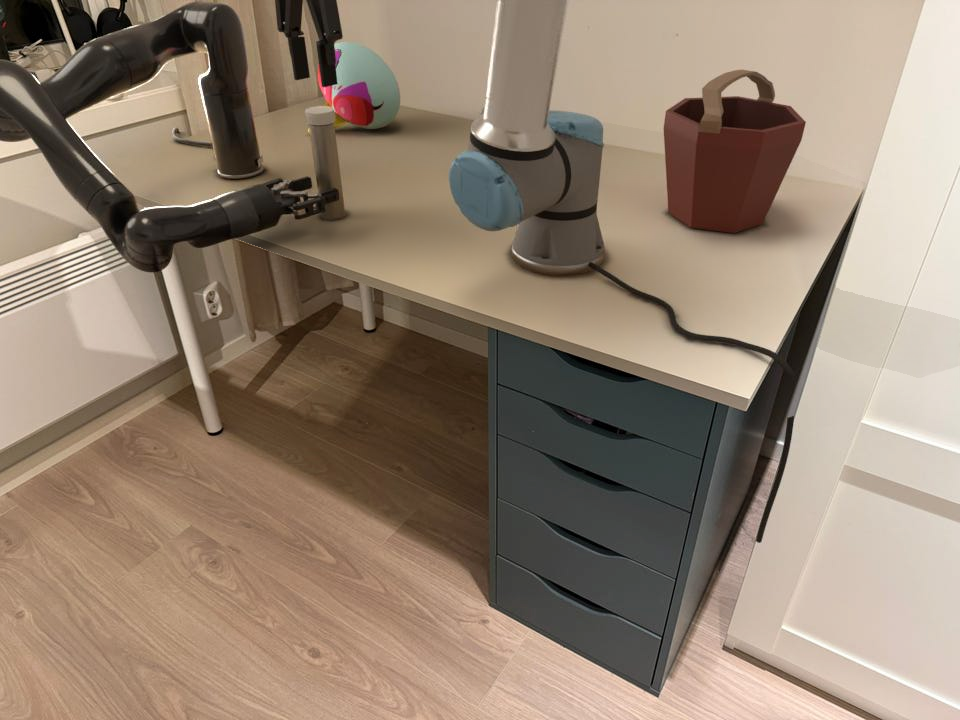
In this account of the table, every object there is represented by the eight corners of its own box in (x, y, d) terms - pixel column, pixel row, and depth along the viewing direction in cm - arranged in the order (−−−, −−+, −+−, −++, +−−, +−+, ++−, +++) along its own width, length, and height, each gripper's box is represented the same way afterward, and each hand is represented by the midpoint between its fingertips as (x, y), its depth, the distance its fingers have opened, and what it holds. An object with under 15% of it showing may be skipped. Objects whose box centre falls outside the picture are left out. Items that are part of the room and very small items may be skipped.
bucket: (710, 250, 119) (740, 96, 105) (622, 208, 134) (638, 69, 120) (804, 218, 129) (843, 75, 115) (713, 183, 145) (736, 53, 131)
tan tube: (332, 209, 135) (318, 107, 125) (350, 213, 134) (338, 110, 123) (316, 216, 132) (301, 113, 122) (334, 221, 130) (321, 117, 120)
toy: (277, 110, 181) (275, 51, 163) (352, 72, 191) (358, 13, 173) (336, 175, 178) (341, 122, 160) (410, 134, 188) (421, 79, 170)
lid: (319, 116, 126) (318, 104, 125) (341, 119, 124) (340, 108, 123) (300, 123, 122) (298, 111, 121) (322, 127, 120) (320, 115, 119)
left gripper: (227, 221, 126) (305, 197, 135) (270, 245, 117) (349, 217, 127) (219, 180, 121) (299, 158, 131) (262, 202, 113) (345, 177, 123)
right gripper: (356, -77, 103) (371, 86, 116) (277, -80, 114) (299, 69, 127) (314, -75, 99) (334, 95, 112) (236, -78, 110) (263, 77, 123)
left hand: (324, 187), depth 129 cm, fingers open, 8 cm apart
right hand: (315, 81), depth 119 cm, fingers open, 7 cm apart
